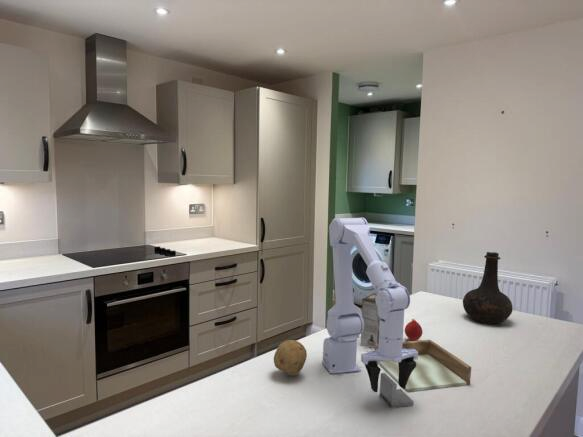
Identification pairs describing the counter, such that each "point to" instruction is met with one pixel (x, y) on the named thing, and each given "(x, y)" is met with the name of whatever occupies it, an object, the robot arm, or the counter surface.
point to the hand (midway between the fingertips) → (388, 388)
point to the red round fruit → (413, 330)
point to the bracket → (393, 393)
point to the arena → (431, 367)
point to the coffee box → (370, 321)
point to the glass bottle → (488, 296)
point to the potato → (290, 357)
